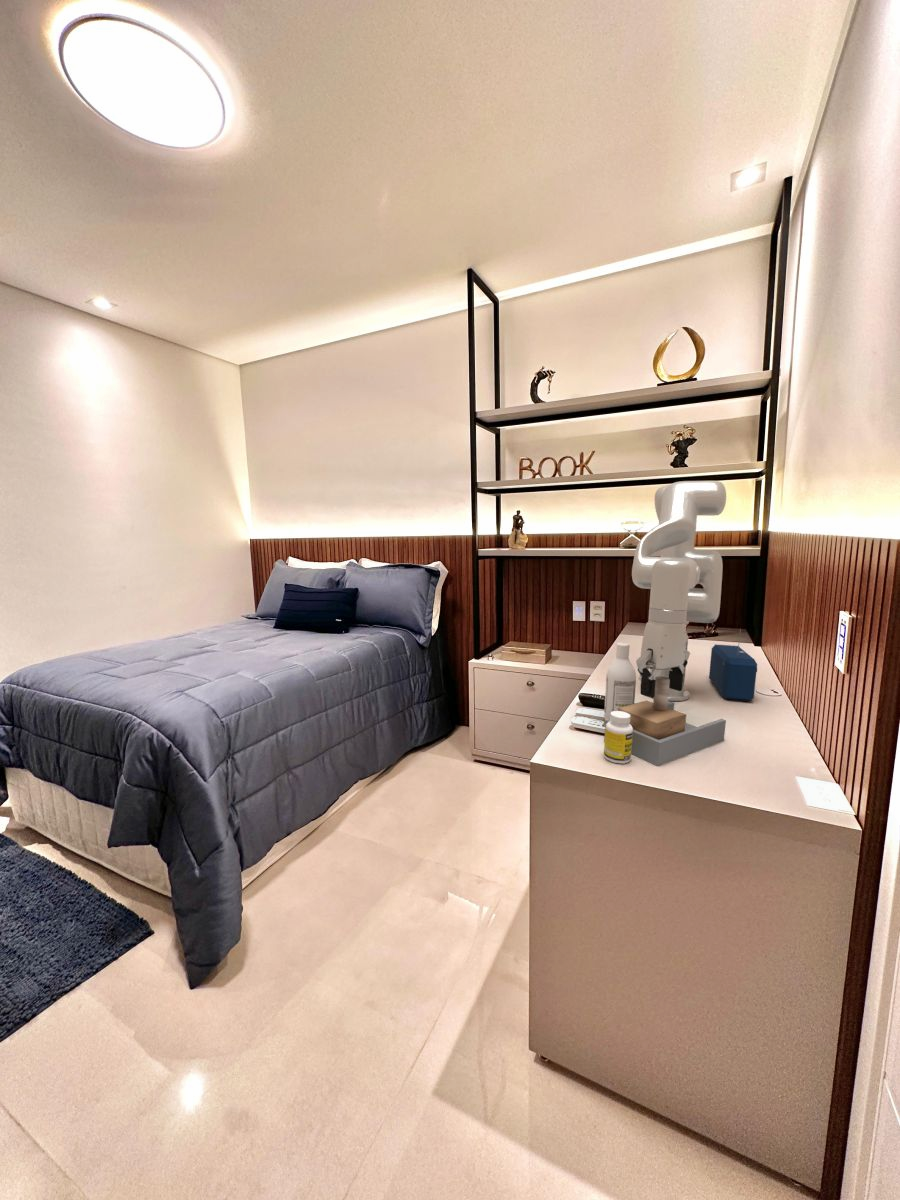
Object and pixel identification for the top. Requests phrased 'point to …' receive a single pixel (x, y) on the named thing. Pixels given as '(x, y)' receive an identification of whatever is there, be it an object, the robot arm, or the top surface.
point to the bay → (676, 741)
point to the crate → (656, 714)
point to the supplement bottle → (618, 738)
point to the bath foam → (620, 681)
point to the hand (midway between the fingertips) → (661, 692)
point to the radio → (733, 672)
